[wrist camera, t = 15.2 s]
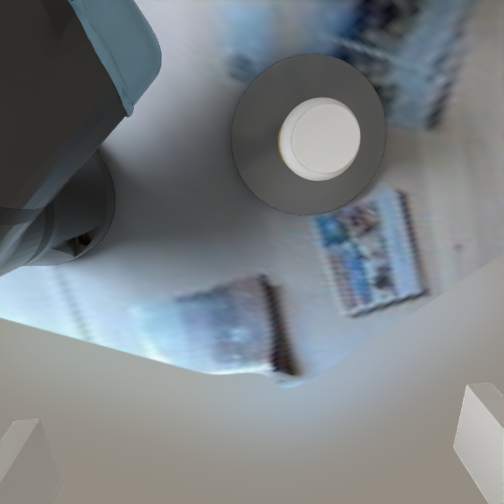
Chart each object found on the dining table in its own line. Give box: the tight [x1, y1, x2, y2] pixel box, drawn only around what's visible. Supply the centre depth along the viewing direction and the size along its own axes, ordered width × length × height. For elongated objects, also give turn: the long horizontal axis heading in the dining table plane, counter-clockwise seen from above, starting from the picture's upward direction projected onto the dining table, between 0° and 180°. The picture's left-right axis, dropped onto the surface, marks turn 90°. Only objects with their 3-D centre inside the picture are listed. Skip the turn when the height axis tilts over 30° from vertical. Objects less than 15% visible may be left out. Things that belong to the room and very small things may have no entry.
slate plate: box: [231, 54, 386, 215], centre depth 36 cm, size 15×15×2 cm
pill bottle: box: [278, 97, 360, 181], centre depth 30 cm, size 6×6×11 cm
